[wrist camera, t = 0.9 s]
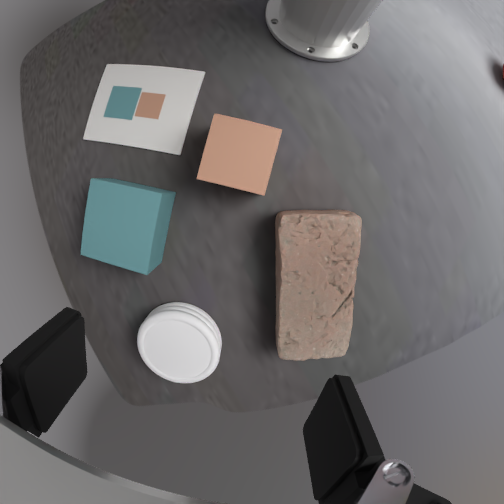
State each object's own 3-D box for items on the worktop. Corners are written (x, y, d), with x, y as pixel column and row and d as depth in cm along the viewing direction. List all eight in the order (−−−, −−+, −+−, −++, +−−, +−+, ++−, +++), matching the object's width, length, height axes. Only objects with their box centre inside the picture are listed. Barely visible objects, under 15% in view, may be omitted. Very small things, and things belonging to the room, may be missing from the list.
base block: (112, 178, 30) (91, 178, 25) (175, 192, 30) (162, 193, 25) (101, 244, 31) (80, 254, 26) (161, 262, 32) (147, 275, 27)
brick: (339, 341, 34) (349, 360, 30) (273, 345, 34) (276, 366, 30) (348, 208, 31) (363, 212, 26) (273, 208, 31) (277, 212, 26)
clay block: (221, 127, 29) (214, 113, 23) (276, 140, 29) (282, 129, 23) (207, 180, 30) (196, 178, 24) (261, 194, 30) (264, 195, 24)
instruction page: (107, 64, 26) (106, 63, 26) (205, 72, 27) (205, 71, 27) (83, 139, 28) (82, 139, 28) (180, 155, 29) (179, 155, 29)
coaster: (231, 363, 35) (229, 380, 32) (160, 372, 35) (153, 388, 32) (209, 293, 33) (205, 305, 29) (134, 307, 33) (123, 319, 30)
